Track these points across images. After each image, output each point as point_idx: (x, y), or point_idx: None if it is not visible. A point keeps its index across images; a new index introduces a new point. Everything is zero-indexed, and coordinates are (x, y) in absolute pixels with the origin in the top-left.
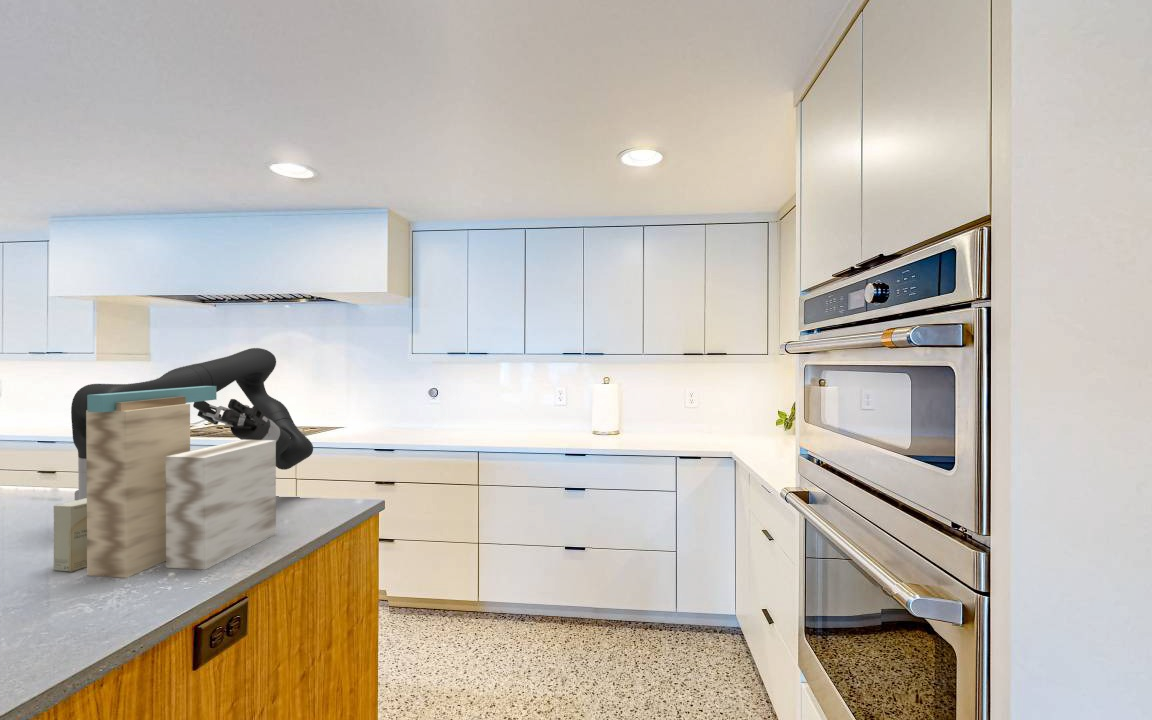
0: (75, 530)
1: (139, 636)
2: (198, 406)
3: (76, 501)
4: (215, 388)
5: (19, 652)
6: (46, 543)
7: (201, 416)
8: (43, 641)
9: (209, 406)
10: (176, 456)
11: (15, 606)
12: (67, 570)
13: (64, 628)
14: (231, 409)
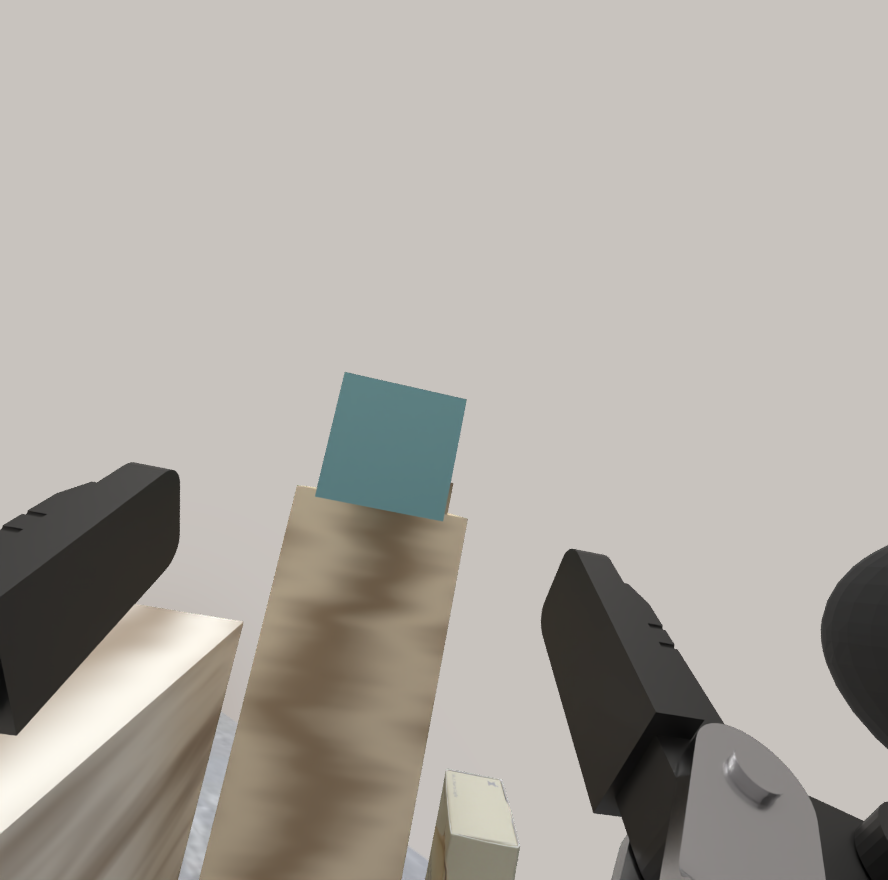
0: (432, 845)
1: None
2: (551, 634)
3: (495, 808)
4: (340, 394)
5: (233, 727)
6: None
7: None
8: (222, 741)
9: (682, 763)
10: (209, 617)
11: None
12: None
13: (217, 761)
14: (131, 597)
